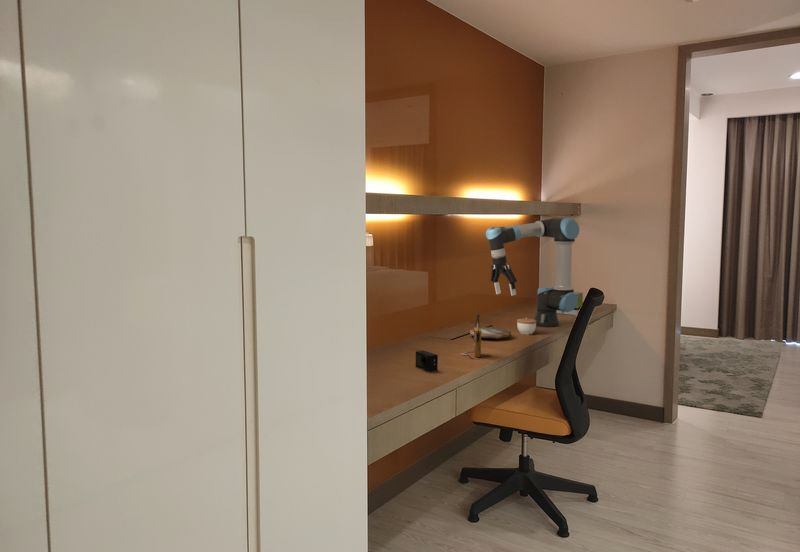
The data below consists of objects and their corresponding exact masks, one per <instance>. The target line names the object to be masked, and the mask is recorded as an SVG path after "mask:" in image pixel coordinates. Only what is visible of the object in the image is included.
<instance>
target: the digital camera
mask: <svg viewBox="0 0 800 552" xmlns="http://www.w3.org/2000/svg"><path fill="white" fill-rule="evenodd" d="M438 358H439V355H438V354H436V353H433V352H430V351H427V350H416V351H415V367H417V368H418V369H422V370H424V371H427V372H434V371H435V370H436V371H438V363H439V362H438Z"/></svg>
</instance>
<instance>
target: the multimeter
mask: <svg viewBox="0 0 800 552" xmlns="http://www.w3.org/2000/svg"><path fill="white" fill-rule="evenodd" d="M479 318H480V314H479V313H477V316H476V320H475V326H474V328H473V329H474V336H473V350H472V353H473V356H474V358H479V359H482V355H481V353H482V338H481V329H480V328H481V327H480V325H479V322H480V319H479ZM468 353H469V351H466V352H463V353H461V355H462V356H467V357H468V356H469V357H470V355H469V354H468ZM474 358H473V357H470V359H472V360H474Z"/></svg>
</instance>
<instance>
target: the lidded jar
mask: <svg viewBox="0 0 800 552" xmlns="http://www.w3.org/2000/svg"><path fill="white" fill-rule="evenodd" d="M534 319H535V318H534ZM534 319H532V318H528V316H526V317H525V318H518V319H517V320H516V323H517V324H516V326H517V330H518V331H519V333H520V334H521V335H524V334H525V335H526V336H530V335H529V334H531V335H532V334H533V333H534V332H535V331H536V329H537V326H536V322H537V321H536V320H534Z"/></svg>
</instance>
